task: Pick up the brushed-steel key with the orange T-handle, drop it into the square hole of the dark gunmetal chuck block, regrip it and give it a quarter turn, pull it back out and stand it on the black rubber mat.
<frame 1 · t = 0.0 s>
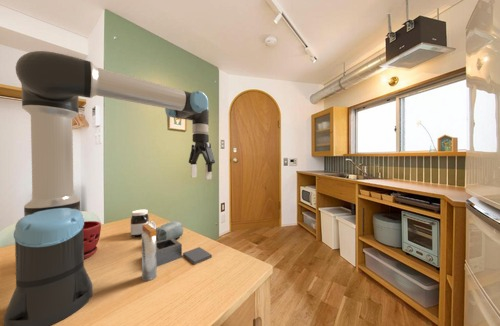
hand: (200, 178, 91), 28 cm above the table, fingers open, 13 cm apart
spread jar: (144, 235, 93), on the table
plant pot: (79, 256, 72), on the table
chuck key: (149, 277, 59), on the table
spool: (169, 241, 86), on the table
rest mat: (197, 256, 72), on the table
chuck block: (164, 257, 71), on the table
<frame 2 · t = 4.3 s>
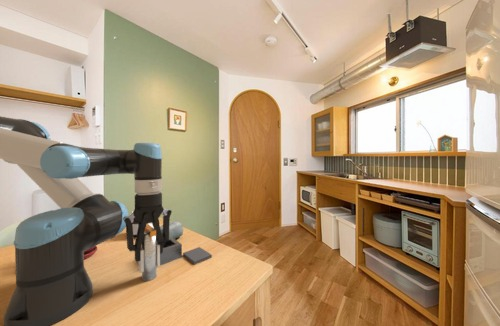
hand: (149, 267, 59), 3 cm above the table, fingers closed on chuck key, 4 cm apart
chuck key: (149, 277, 59), on the table, touching gripper
everything else where it was.
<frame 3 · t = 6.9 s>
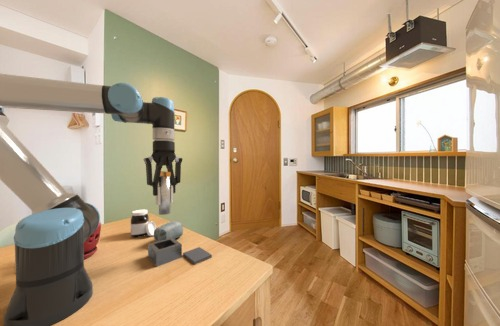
hand: (164, 203, 71), 21 cm above the table, fingers closed on chuck key, 4 cm apart
chuck key: (164, 213, 71), point 17 cm above the table, touching gripper
everything else where it was.
when the fingers open (7 cm above the table, at t = 9.6 s): chuck key drops 3 cm, resting in chuck block.
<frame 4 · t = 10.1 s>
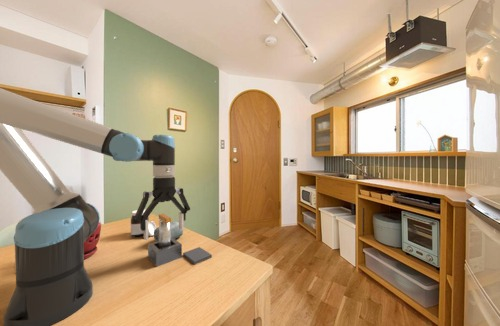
hand: (164, 233, 71), 9 cm above the table, fingers open, 12 cm apart
chuck key: (165, 257, 71), resting in chuck block
everything else where it was.
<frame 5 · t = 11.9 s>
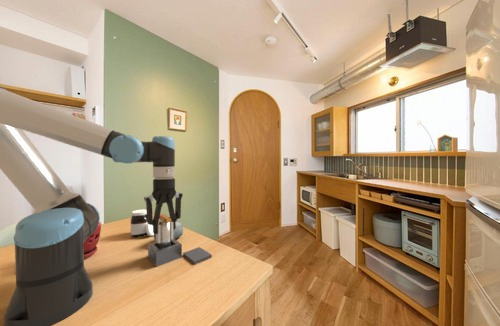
hand: (164, 239, 71), 7 cm above the table, fingers closed on chuck key, 4 cm apart
chuck key: (165, 257, 71), resting in chuck block, touching gripper
everything else where it was.
when the fingers open (10 cm above the table, at t = 20.3 s): chuck key drops 1 cm, resting on rest mat.
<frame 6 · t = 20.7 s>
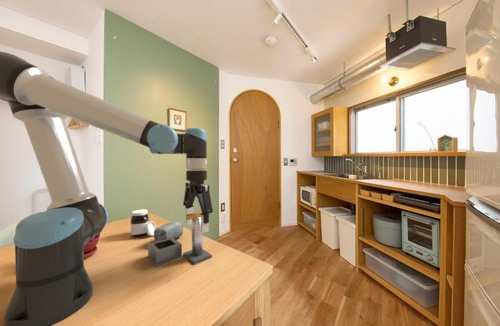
hand: (197, 227, 72), 11 cm above the table, fingers open, 10 cm apart
chuck key: (197, 253, 72), point 1 cm above the table, touching rest mat
everything else where it was.
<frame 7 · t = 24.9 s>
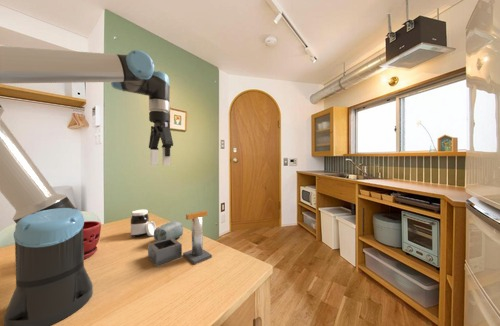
hand: (160, 165, 76), 35 cm above the table, fingers open, 13 cm apart
nothing on the table moved.
at the end: chuck key inside the target area on the rest mat (0.1 cm from its centre), point 1.0 cm above the rest mat's base; chuck key tilted 0°; the gripper is holding nothing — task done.
